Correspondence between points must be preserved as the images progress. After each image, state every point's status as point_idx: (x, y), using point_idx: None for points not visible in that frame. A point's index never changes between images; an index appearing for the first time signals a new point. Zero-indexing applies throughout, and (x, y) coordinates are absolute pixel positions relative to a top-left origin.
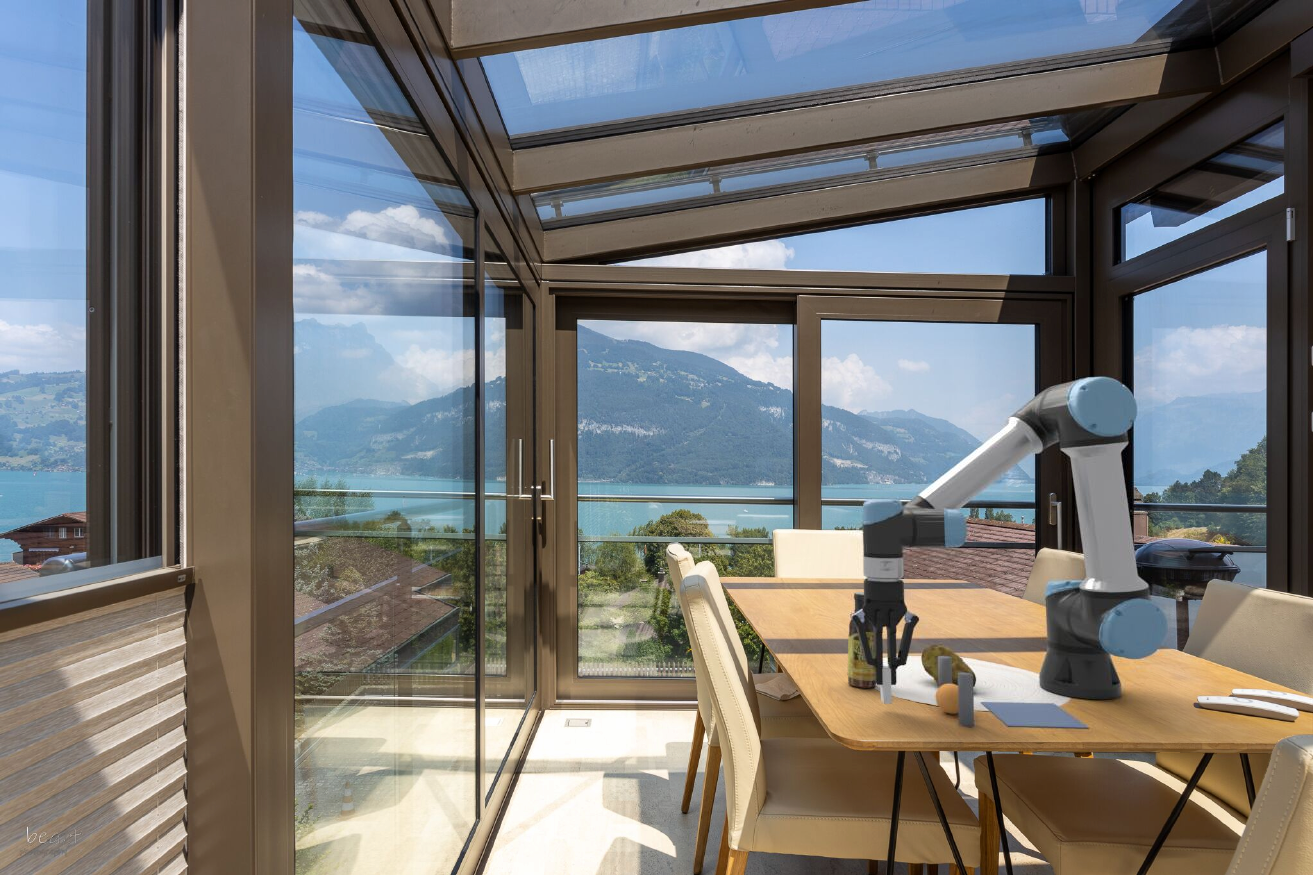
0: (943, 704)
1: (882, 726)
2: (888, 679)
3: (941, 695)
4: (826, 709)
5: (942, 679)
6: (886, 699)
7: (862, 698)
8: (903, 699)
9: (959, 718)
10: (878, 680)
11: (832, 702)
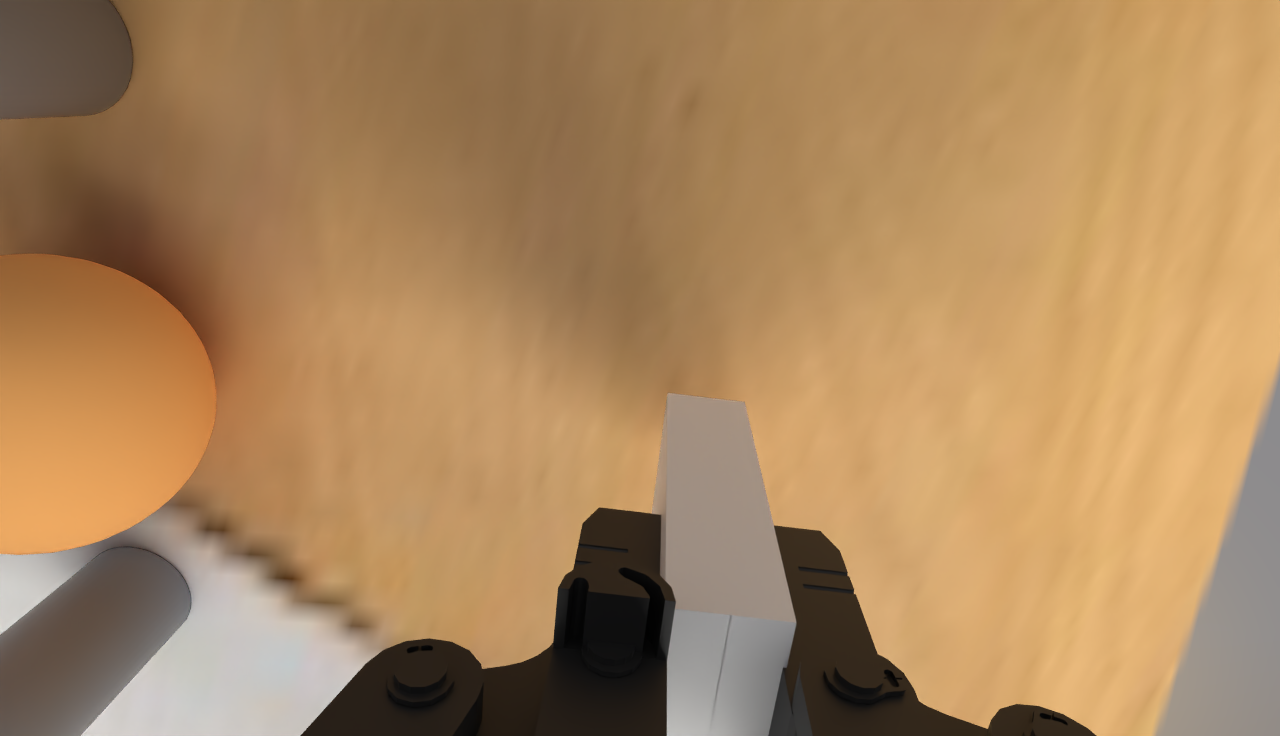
0: (163, 313)
1: (895, 7)
2: (702, 521)
3: (121, 363)
4: (1193, 501)
5: (3, 715)
6: (720, 412)
7: None
8: None
9: (92, 39)
10: (815, 561)
11: (1051, 657)
